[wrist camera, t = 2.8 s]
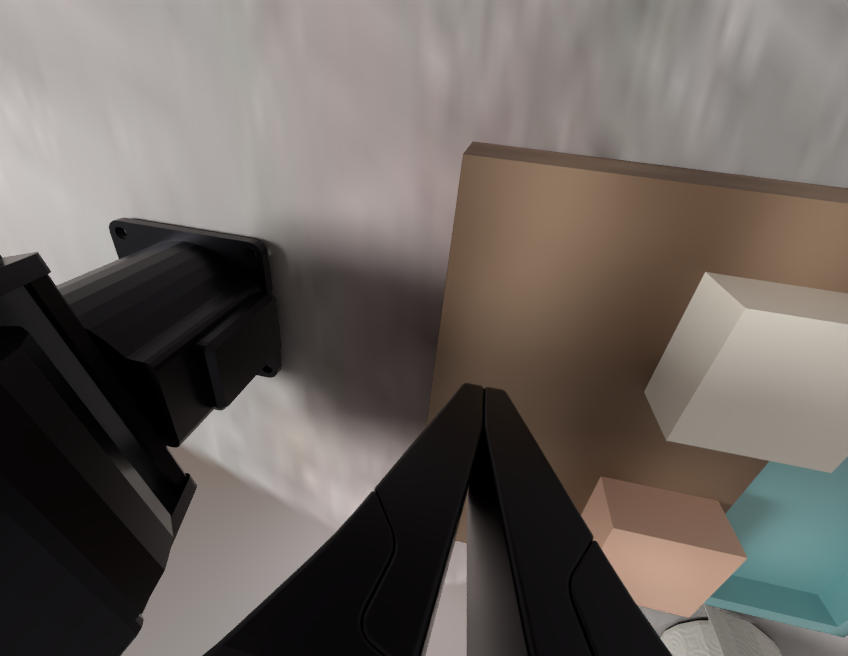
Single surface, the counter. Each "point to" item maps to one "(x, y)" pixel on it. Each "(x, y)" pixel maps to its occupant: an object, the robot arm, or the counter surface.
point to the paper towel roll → (718, 637)
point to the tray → (792, 549)
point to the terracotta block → (663, 543)
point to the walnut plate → (611, 298)
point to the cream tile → (758, 373)
